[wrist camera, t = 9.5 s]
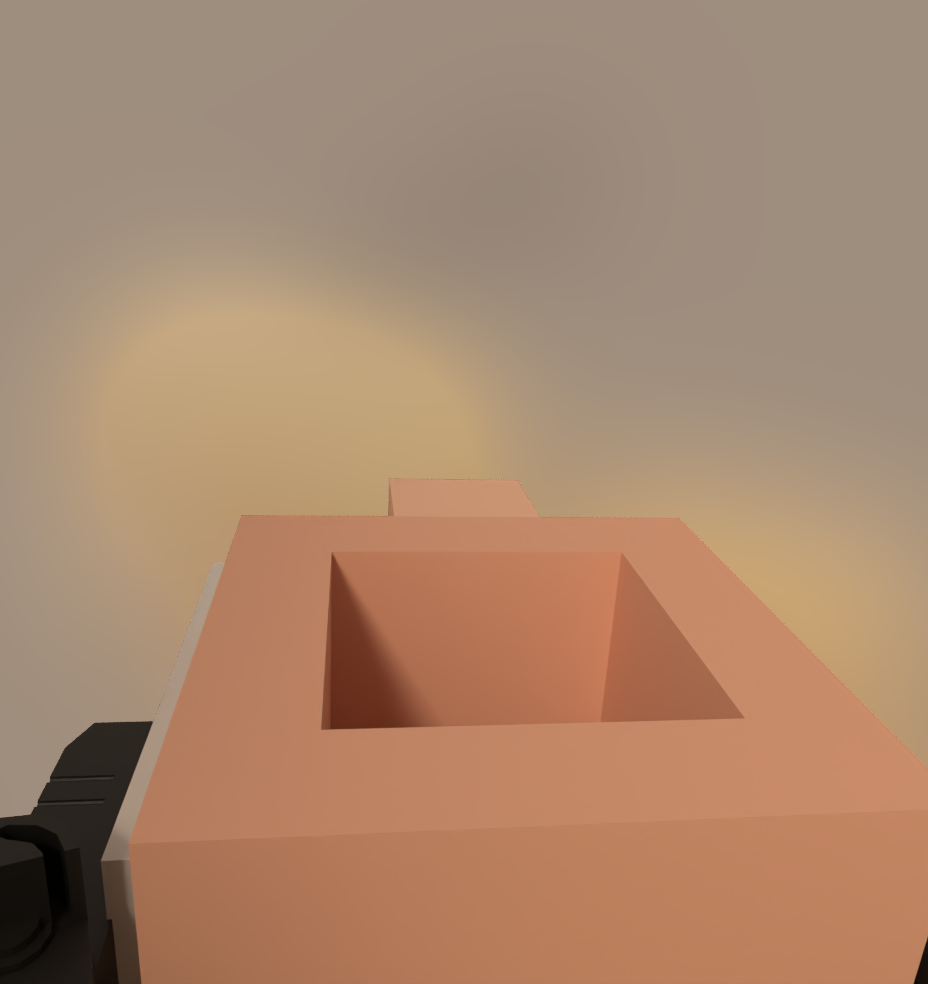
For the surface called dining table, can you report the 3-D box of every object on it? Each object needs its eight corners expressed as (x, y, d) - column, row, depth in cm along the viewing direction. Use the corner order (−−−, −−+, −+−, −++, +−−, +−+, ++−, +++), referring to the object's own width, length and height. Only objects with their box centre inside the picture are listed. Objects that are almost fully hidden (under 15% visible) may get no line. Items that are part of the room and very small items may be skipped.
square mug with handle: (197, 1570, 8) (127, 842, 6) (268, 941, 16) (254, 476, 13) (762, 1483, 9) (965, 807, 6) (585, 923, 16) (642, 481, 13)
